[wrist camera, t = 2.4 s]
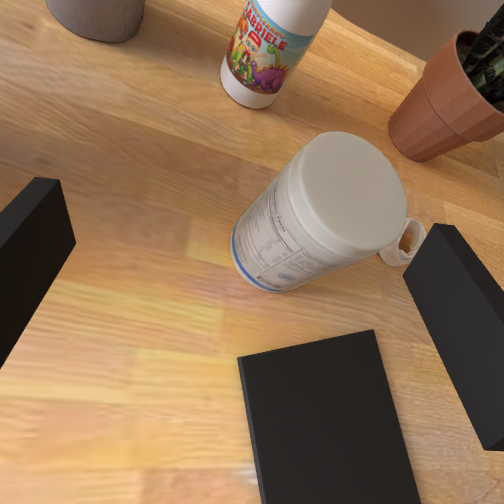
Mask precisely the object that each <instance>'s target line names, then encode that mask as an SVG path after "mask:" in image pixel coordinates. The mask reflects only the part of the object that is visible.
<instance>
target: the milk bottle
mask: <svg viewBox="0 0 504 504" xmlns="http://www.w3.org/2000/svg"><path fill="white" fill-rule="evenodd" d="M331 4H332V0H247V3H246V5H245V8H244V10H243V12H242V15H241V17H240V20H239V22H238V25H237V27H236V30H235V32H234V35H233V37H232V40H231V42H230V45H229V47H228V50H227V52H226V55H225V57H224V60H223V63H222V65H221V69H220V78H221V82H222V85H223V87H224V89H225V90H226V92H227V93H228V94H229V95H230V97H232V98H233V99H234V100H235V101H237V102H238V103H239V104H241V105H244V106H246V107H249V108H254V109H261V108H265V107H267V106H269V105H270V104H272V103H273V102H274V100H275V99H276V98H277V96H278V95H279V93H280V92H281V90H282V88H283V87H284V85H285V84H286V82H287V81H288V79H289V78H290V76H291V75H292V73H293V71H294V70H295V68H296V67H297V65H298V64H299V62H300V61H301V59H302V57H303V56H304V54H305V53H306V51H307V49H308V48H309V46H310V45H311V43H312V42H313V40H314V38H315V37H316V35H317V33H318V31H319V30H320V28H321V26H322V25H323V23H324V21H325V19H326V17H327V15H328V12H329V9H330V7H331Z"/></svg>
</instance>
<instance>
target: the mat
mask: <svg viewBox="0 0 504 504" xmlns="http://www.w3.org/2000/svg"><path fill="white" fill-rule="evenodd" d="M237 360H238V366H239V372H240V378H241V383H242V389H243V395H244V401H245V407H246V413H247V419H248V425H249V431H250V437H251V443H252V449H253V454H254V460H255V466H256V472H257V478H258V484H259V490H260V496H261V502H262V504H421V501H420V497H419V493H418V490H417V486H416V483H415V479H414V475H413V472H412V468H411V464H410V461H409V457H408V453H407V450H406V446H405V442H404V439H403V435H402V432H401V428H400V424H399V421H398V417H397V413H396V410H395V406H394V402H393V399H392V395H391V391H390V388H389V384H388V381H387V377H386V373H385V370H384V366H383V362H382V359H381V355H380V351H379V348H378V344H377V340H376V337H375V333H374V330H373V329H372V330H366V331H362V332H357V333H352V334H347V335H343V336H338V337H333V338H328V339H324V340H319V341H314V342H309V343H305V344H300V345H295V346H290V347H286V348H281V349H276V350H271V351H267V352H262V353H257V354H252V355H248V356H243V357H238V358H237Z"/></svg>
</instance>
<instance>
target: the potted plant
mask: <svg viewBox="0 0 504 504" xmlns="http://www.w3.org/2000/svg"><path fill="white" fill-rule="evenodd" d="M503 131H504V4H503V5H502V6H501V7H500V9H499V10H498V11H497V13H496V14H495V15H494V16H493V17H492V19H491V20H490V21H489V22H487V23H486V25H485V27H484V29H483V30H482V31H481V32H480V33H479V32H477V31H474V30H472V29H465V30H460V31H459V32H458V33H457V34H455V35H454V36H453V38H451V39H450V40H449V41H448V42H447V44H446V45H445V46H444V47H443V48H442V49H441V50H440V51H439V52H438V53H437V54H436V55H435V56H434V57H433V58H432V59H431V60H430V61H429V62H428V63H427V64H426V65H425V68H424V71H423V76H422V77H421V78H420V80H419V81H418V82H417V84H416V85H415V86H414V88H413V89H412V90H411V91H410V93H409V94H408V95H407V97H406V98H405V99H404V100H403V102H402V103H401V104H400V106H399V107H398V108H397V110H396V111H395V112H394V113H393V115H392V116H391V117H390V120H389V132H390V135H391V138H392V140H393V142H394V144H395V145H396V147H397V148H398V149H399V150H400V151H401V153H403V154H404V155H405V156H407V157H408V158H410V159H412V160H414V161H419V162H423V161H426V160H429V159H431V158H434V157H436V156H439V155H441V154H444V153H446V152H448V151H451V150H453V149H456V148H458V147H461V146H463V145H466V144H468V143H471V142H473V141H475V142H483V141H486V140H489V139H491V138H492V137H494V136H496V135H498V134H500V133H502V132H503Z"/></svg>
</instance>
